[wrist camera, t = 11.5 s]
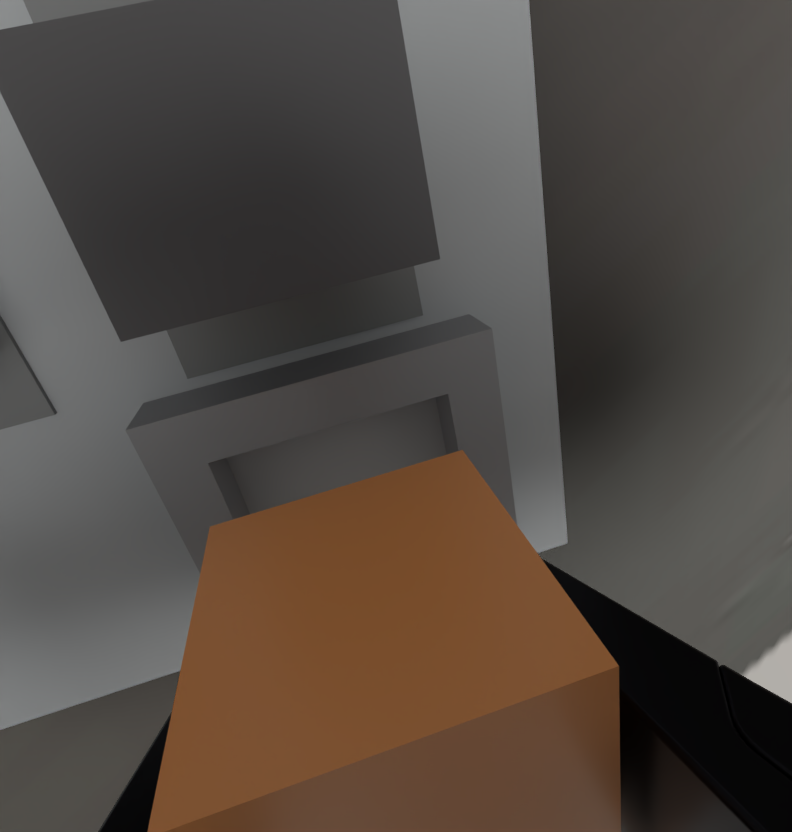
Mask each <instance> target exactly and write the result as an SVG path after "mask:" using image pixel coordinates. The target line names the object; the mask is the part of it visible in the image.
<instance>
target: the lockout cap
mask: <svg viewBox="0 0 792 832" xmlns="http://www.w3.org/2000/svg"><path fill="white" fill-rule="evenodd" d="M147 832H621V785H620V708H619V665H618V664H617V663H616V661H615V660H614V658H613V657H612V656H611V654H610V653H609V652H608V650H607V649H606V647H605V646H604V645H603V643H602V642H601V640H600V639H599V638H598V636H597V635H596V634H595V632H594V631H593V629H592V628H591V627H590V625H589V624H588V622H587V621H586V620H585V618H584V617H583V616H582V614H581V613H580V611H579V610H578V609H577V607H576V606H575V605H574V603H573V602H572V600H571V599H570V598H569V596H568V595H567V593H566V592H565V591H564V589H563V588H562V587H561V585H560V584H559V582H558V581H557V580H556V578H555V577H554V576H553V574H552V573H551V571H550V570H549V569H548V567H547V566H546V564H545V563H544V562H543V560H542V559H541V558H540V556H539V555H538V553H537V552H536V551H535V549H534V548H533V547H532V545H531V544H530V542H529V541H528V540H527V538H526V537H525V535H524V534H523V533H522V531H521V530H520V529H519V527H518V526H517V524H516V523H515V522H514V520H513V519H512V517H511V516H510V515H509V513H508V512H507V511H506V509H505V508H504V506H503V505H502V504H501V502H500V501H499V500H498V498H497V497H496V495H495V494H494V493H493V491H492V490H491V488H490V487H489V486H488V484H487V483H486V482H485V480H484V479H483V477H482V476H481V475H480V473H479V472H478V471H477V469H476V468H475V466H474V465H473V464H472V462H471V461H470V459H469V458H468V457H467V455H466V454H465V453H464V451H463V450H460V451H457V452H454V453H450V454H447V455H444V456H440V457H437V458H434V459H431V460H427V461H424V462H421V463H417V464H414V465H411V466H407V467H404V468H401V469H398V470H394V471H391V472H388V473H384V474H381V475H378V476H375V477H371V478H368V479H365V480H361V481H358V482H355V483H352V484H348V485H345V486H342V487H338V488H335V489H332V490H328V491H325V492H322V493H319V494H315V495H312V496H309V497H305V498H302V499H299V500H296V501H292V502H289V503H286V504H282V505H279V506H276V507H273V508H269V509H266V510H263V511H259V512H256V513H253V514H250V515H246V516H243V517H240V518H236V519H233V520H230V521H226V522H223V523H220V524H217V525H213V526H210V528H209V533H208V538H207V543H206V548H205V553H204V558H203V562H202V567H201V572H200V577H199V582H198V587H197V592H196V597H195V602H194V606H193V611H192V616H191V621H190V626H189V631H188V636H187V641H186V646H185V650H184V655H183V660H182V665H181V670H180V675H179V680H178V685H177V690H176V694H175V699H174V704H173V709H172V714H171V719H170V724H169V729H168V734H167V738H166V743H165V748H164V753H163V758H162V763H161V768H160V773H159V777H158V782H157V787H156V792H155V797H154V802H153V807H152V812H151V817H150V821H149V826H148V831H147Z"/></svg>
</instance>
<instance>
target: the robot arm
mask: <svg viewBox="0 0 792 832" xmlns="http://www.w3.org/2000/svg"><path fill="white" fill-rule="evenodd" d="M542 560H543V559H542ZM543 562H544V563H545V564H546V566H547V567H548V569H549V570H550V571H551V573H552V574H553V576H554V577H555V578H556V580H557V581H558V582H559V584H560V585H561V587H562V588H563V589H564V591H565V592H566V593H567V595H568V596H569V598H570V599H571V600H572V602H573V603H574V605H575V606H576V607H577V609H578V610H579V611H580V613H581V614H582V616H583V617H584V618H585V620H586V621H587V622H588V624H589V625H590V627H591V628H592V629H593V631H594V632H595V634H596V635H597V636H598V638H599V639H600V640H601V642H602V643H603V645H604V646H605V647H606V649H607V650H608V652H609V653H610V654H611V656H612V657H613V658H614V660H615V661H616V663H617V664H618V665H619V708H620V785H621V832H792V703H790V702H788V701H786V700H784V699H783V698H781V697H779V696H777V695H776V694H774V693H772V692H770V691H768V690H767V689H765V688H763V687H761V686H760V685H758V684H756V683H754V682H752V681H751V680H749V679H747V678H746V677H744V676H742V675H740V674H739V673H737V672H735V671H734V670H732V669H730V668H728V667H727V666H725V665H721V666H720V667H719V664H718V662H717V661H716V660H714V659H713V658H711V657H709V656H707V655H706V654H704V653H702V652H701V651H699V650H697V649H695V648H694V647H692V646H690V645H689V644H687V643H685V642H683V641H682V640H680V639H678V638H677V637H675V636H673V635H671V634H670V633H668V632H666V631H665V630H663V629H661V628H659V627H658V626H656V625H654V624H653V623H651V622H649V621H647V620H646V619H644V618H642V617H641V616H639V615H637V614H635V613H634V612H632V611H630V610H629V609H627V608H625V607H623V606H622V605H620V604H618V603H617V602H615V601H613V600H612V599H610V598H608V597H606V596H605V595H603V594H601V593H600V592H598V591H596V590H594V589H593V588H591V587H589V586H588V585H586V584H584V583H582V582H581V581H579V580H577V579H576V578H574V577H572V576H570V575H569V574H567V573H565V572H564V571H562V570H560V569H558V568H557V567H555V566H553V565H552V564H550V563H548V562H546V561H545V560H543ZM171 714H172V712H171ZM171 714H170V716H169V717H168V719H167V721H166V722H165V724H164V725H163V727H162V729H161V730H160V732H159V734H158V735H157V737H156V738H155V740H154V742H153V743H152V745H151V747H150V748H149V750H148V751H147V753H146V755H145V756H144V758H143V760H142V761H141V763H140V764H139V766H138V768H137V769H136V771H135V773H134V774H133V776H132V778H131V779H130V781H129V782H128V784H127V786H126V787H125V789H124V791H123V792H122V794H121V795H120V797H119V799H118V800H117V802H116V804H115V805H114V807H113V808H112V810H111V812H110V813H109V815H108V817H107V818H106V820H105V821H104V823H103V825H102V826H101V828H100V830H99V831H98V832H147V831H148V826H149V821H150V817H151V812H152V807H153V802H154V797H155V792H156V787H157V782H158V777H159V773H160V768H161V763H162V758H163V753H164V748H165V743H166V738H167V734H168V729H169V724H170V719H171Z"/></svg>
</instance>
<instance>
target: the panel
mask: <svg viewBox="0 0 792 832" xmlns="http://www.w3.org/2000/svg"><path fill="white" fill-rule="evenodd" d="M460 450H463V451H464V453H465V454H466V455H467V457H468V458H469V459H470V461H471V462H472V464H473V465H474V466H475V468H476V469H477V471H478V472H479V473H480V475H481V476H482V477H483V479H484V480H485V482H486V483H487V484H488V486H489V487H490V488H491V490H492V491H493V493H494V494H495V495H496V497H497V498H498V500H499V501H500V502H501V504H502V505H503V506H504V508H505V509H506V511H507V512H508V513H509V515H510V516H511V517H512V519H513V520H514V522H515V523H516V524H517V526H518V527H519V529H520V530H521V531H522V533H523V534H524V535H525V537H526V538H527V540H528V541H529V542H530V544H531V545H532V547H533V548H534V549H535V551H536V552H537V553H539V552H542V551H546V550H549V549H552V548H555V547H558V546H561V545H564V544H567V543H568V539H567V525H566V511H565V497H564V483H563V469H562V455H561V441H560V427H559V413H558V399H557V385H556V371H555V357H554V343H553V329H552V315H551V301H550V287H549V273H548V259H547V245H546V231H545V217H544V203H543V189H542V175H541V161H540V147H539V133H538V119H537V105H536V91H535V77H534V63H533V49H532V35H531V21H530V7H529V0H0V730H1V729H4V728H8V727H11V726H14V725H17V724H20V723H23V722H26V721H29V720H32V719H35V718H38V717H41V716H44V715H47V714H50V713H53V712H56V711H59V710H62V709H65V708H68V707H71V706H74V705H77V704H80V703H84V702H87V701H90V700H93V699H96V698H99V697H102V696H105V695H108V694H111V693H114V692H117V691H120V690H123V689H126V688H129V687H132V686H135V685H138V684H141V683H144V682H147V681H150V680H153V679H156V678H159V677H163V676H166V675H169V674H172V673H175V672H178V671H180V670H181V665H182V660H183V655H184V650H185V646H186V641H187V636H188V631H189V626H190V621H191V616H192V611H193V606H194V602H195V597H196V592H197V587H198V582H199V577H200V572H201V567H202V562H203V558H204V553H205V548H206V543H207V538H208V533H209V528H210V526H213V525H217V524H220V523H223V522H226V521H230V520H233V519H236V518H240V517H243V516H246V515H250V514H253V513H256V512H259V511H263V510H266V509H269V508H273V507H276V506H279V505H282V504H286V503H289V502H292V501H296V500H299V499H302V498H305V497H309V496H312V495H315V494H319V493H322V492H325V491H328V490H332V489H335V488H338V487H342V486H345V485H348V484H352V483H355V482H358V481H361V480H365V479H368V478H371V477H375V476H378V475H381V474H384V473H388V472H391V471H394V470H398V469H401V468H404V467H407V466H411V465H414V464H417V463H421V462H424V461H427V460H431V459H434V458H437V457H440V456H444V455H447V454H450V453H454V452H457V451H460Z"/></svg>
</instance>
